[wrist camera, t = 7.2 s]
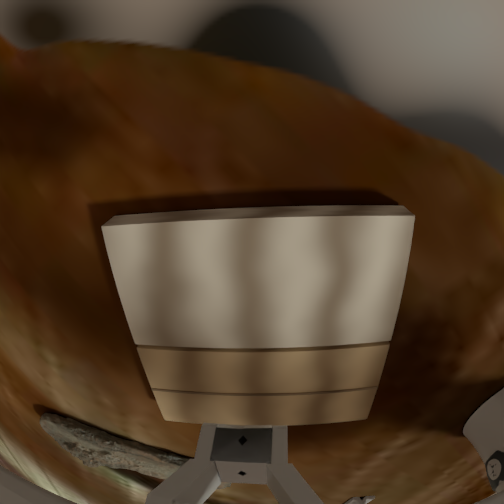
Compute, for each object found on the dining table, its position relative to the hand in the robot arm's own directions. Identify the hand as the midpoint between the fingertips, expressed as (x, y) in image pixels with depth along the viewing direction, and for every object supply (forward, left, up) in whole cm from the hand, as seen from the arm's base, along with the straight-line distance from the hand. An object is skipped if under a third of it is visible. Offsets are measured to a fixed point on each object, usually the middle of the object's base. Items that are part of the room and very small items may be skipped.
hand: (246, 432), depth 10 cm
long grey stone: (+23, +37, -18) cm, 47 cm away
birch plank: (0, +3, -17) cm, 17 cm away
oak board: (0, +15, -17) cm, 23 cm away
